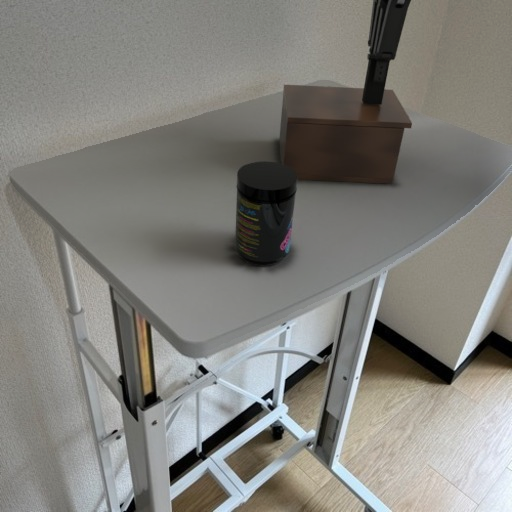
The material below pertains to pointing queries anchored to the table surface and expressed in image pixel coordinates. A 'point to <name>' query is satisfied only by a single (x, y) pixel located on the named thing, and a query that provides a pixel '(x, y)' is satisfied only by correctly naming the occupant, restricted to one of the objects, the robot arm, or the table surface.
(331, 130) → the chest
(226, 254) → the table surface
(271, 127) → the table surface
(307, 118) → the lid
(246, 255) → the supplement container
